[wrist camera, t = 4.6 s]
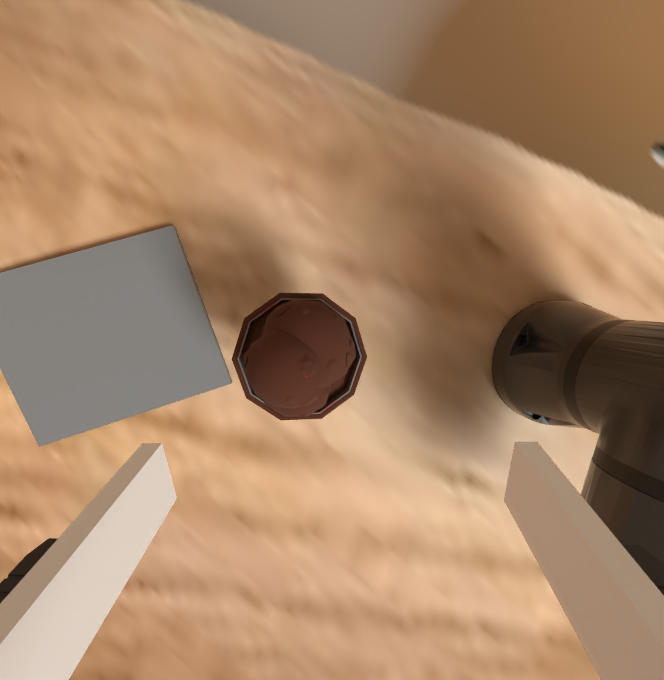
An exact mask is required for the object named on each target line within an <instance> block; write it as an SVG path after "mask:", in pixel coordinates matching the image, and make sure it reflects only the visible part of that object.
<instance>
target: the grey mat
mask: <svg viewBox="0 0 664 680" xmlns="http://www.w3.org/2000/svg"><path fill="white" fill-rule="evenodd" d="M0 369H1V371H2V373H3V375H4V377H5V379H6V381H7V383H8V385H9V387H10V389H11V391H12V393H13V395H14V397H15V399H16V401H17V403H18V405H19V407H20V409H21V411H22V413H23V415H24V417H25V419H26V421H27V423H28V425H29V427H30V429H31V431H32V433H33V435H34V437H35V439H36V441H37V443H38V445H39V447H40V446H43V445H46V444H49V443H52V442H55V441H58V440H61V439H64V438H67V437H70V436H73V435H76V434H79V433H82V432H85V431H88V430H91V429H94V428H98V427H101V426H104V425H107V424H110V423H113V422H116V421H119V420H122V419H125V418H128V417H131V416H134V415H137V414H140V413H143V412H146V411H149V410H152V409H155V408H158V407H161V406H164V405H167V404H170V403H173V402H176V401H180V400H183V399H186V398H189V397H192V396H195V395H198V394H201V393H204V392H207V391H210V390H213V389H216V388H219V387H222V386H225V385H228V384H231V383H232V380H231V377H230V374H229V372H228V369H227V366H226V364H225V361H224V358H223V355H222V353H221V350H220V347H219V345H218V342H217V339H216V337H215V334H214V331H213V328H212V326H211V323H210V320H209V318H208V315H207V312H206V310H205V307H204V304H203V301H202V299H201V296H200V293H199V291H198V288H197V285H196V282H195V280H194V277H193V274H192V272H191V269H190V266H189V264H188V261H187V258H186V255H185V253H184V250H183V247H182V245H181V242H180V239H179V237H178V234H177V231H176V228H175V226H173V225H172V226H168V227H164V228H161V229H157V230H153V231H150V232H146V233H143V234H139V235H135V236H132V237H128V238H124V239H121V240H117V241H113V242H110V243H106V244H103V245H99V246H95V247H92V248H88V249H84V250H81V251H77V252H74V253H70V254H66V255H63V256H59V257H55V258H52V259H48V260H44V261H41V262H37V263H34V264H30V265H26V266H23V267H19V268H15V269H12V270H8V271H5V272H1V273H0Z"/></svg>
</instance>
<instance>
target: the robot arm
mask: <svg viewBox="0 0 664 680" xmlns="http://www.w3.org/2000/svg"><path fill="white" fill-rule="evenodd" d="M492 369H493V378H494V383H495V386H496V389H497V391H498V393H499V395H500V397H501V398H502V400H503V401H504V402H505V404H506V405H507V406H508V407H509V408H511V409H512V410H513V411H515V412H516V413H518V414H520V415H522V416H524V417H526V418H528V419H530V420H532V421H535V422H538V423H542V424H547V425H556V426H567V427H577V428H586V429H589V430H591V431H593V432H596V433H598V434H599V438H598V441H597V445H596V448H595V451H594V454H593V457H592V460H591V463H590V466H589V469H588V473H587V476H586V479H585V482H584V486H583V489H582V492H581V495H580V493H579V492H578V491H577V490H576V489H575V487H574V486H573V485H572V484H571V482H570V481H569V480H568V479H567V478H566V476H565V475H564V474H563V473H562V472H561V470H560V469H559V468H558V467H557V465H556V464H555V463H554V462H553V461H552V459H551V458H550V457H549V456H548V455H547V453H546V452H545V451H544V450H543V448H542V447H541V446H540V445H539V444H538V442H515V445H514V451H513V456H512V461H511V466H510V471H509V477H508V482H507V487H506V492H505V497H504V501H505V503H506V505H507V507H508V509H509V510H510V512H511V514H512V516H513V518H514V520H515V521H516V523H517V525H518V527H519V529H520V531H521V532H522V534H523V536H524V538H525V540H526V542H527V544H528V545H529V547H530V549H531V551H532V553H533V555H534V556H535V558H536V560H537V562H538V564H539V566H540V568H541V569H542V571H543V573H544V575H545V577H546V579H547V580H548V582H549V584H550V586H551V588H552V590H553V592H554V593H555V595H556V597H557V599H558V601H559V603H560V604H561V606H562V608H563V610H564V612H565V614H566V616H567V617H568V619H569V621H570V623H571V625H572V627H573V628H574V630H575V632H576V634H577V636H578V638H579V640H580V641H581V643H582V645H583V647H584V649H585V651H586V652H587V654H588V656H589V658H590V660H591V662H592V663H593V665H594V667H595V669H596V671H597V673H598V675H599V676H600V678H601V680H664V323H661V322H649V321H634V320H622V319H620V318H617V317H615V316H613V315H610V314H608V313H606V312H603V311H601V310H598V309H596V308H593V307H591V306H589V305H587V304H584V303H580V302H576V301H567V300H548V301H542V302H539V303H536V304H533V305H531V306H529V307H527V308H525V309H524V310H522V311H521V312H519V313H518V314H517V315H516V316H515V317H514V318H513V319H512V320H511V321H510V322H509V323H508V324H507V326H506V327H505V328H504V330H503V332H502V333H501V335H500V337H499V339H498V342H497V344H496V347H495V351H494V355H493V365H492ZM176 499H177V497H176V493H175V490H174V486H173V482H172V479H171V475H170V471H169V468H168V464H167V460H166V457H165V453H164V449H163V446H162V443H142V445H141V446H140V447H139V448H138V449H137V450H136V451H135V452H134V454H133V455H132V456H131V457H130V458H129V459H128V460H127V462H126V463H125V464H124V465H123V466H122V467H121V468H120V469H119V471H118V472H117V473H116V474H115V475H114V476H113V477H112V478H111V480H110V481H109V482H108V483H107V484H106V485H105V486H104V487H103V489H102V490H101V491H100V492H99V493H98V494H97V495H96V496H95V498H94V499H93V500H92V501H91V502H90V503H89V504H88V505H87V507H86V508H85V509H84V510H83V511H82V512H81V513H80V514H79V516H78V517H77V518H76V519H75V520H74V521H73V522H72V523H71V525H70V526H69V527H68V528H67V529H66V530H65V531H64V533H63V534H62V535H61V536H60V537H59V538H58V539H52V538H49V539H48V540H46V541H45V542H44V543H42V544H41V545H40V546H38V547H37V548H36V549H34V550H33V551H32V552H30V553H29V554H27V555H26V556H25V557H24V559H23V560H22V561H21V562H20V563H19V564H18V565H17V566H16V567H15V568H14V569H13V570H12V571H11V572H10V573H9V575H8V578H7V579H4V580H3V581H2V582H1V583H0V680H69V678H70V676H71V675H72V673H73V671H74V670H75V668H76V666H77V665H78V663H79V661H80V660H81V658H82V656H83V655H84V653H85V651H86V650H87V648H88V646H89V645H90V643H91V641H92V640H93V638H94V636H95V634H96V633H97V631H98V629H99V628H100V626H101V624H102V623H103V621H104V619H105V618H106V616H107V614H108V613H109V611H110V609H111V608H112V606H113V604H114V603H115V601H116V599H117V598H118V596H119V594H120V593H121V591H122V589H123V588H124V586H125V584H126V583H127V581H128V579H129V578H130V576H131V574H132V573H133V571H134V569H135V568H136V566H137V564H138V563H139V561H140V559H141V557H142V556H143V554H144V552H145V551H146V549H147V547H148V546H149V544H150V542H151V541H152V539H153V537H154V536H155V534H156V532H157V531H158V529H159V527H160V526H161V524H162V522H163V521H164V519H165V517H166V516H167V514H168V512H169V511H170V509H171V507H172V506H173V504H174V502H175V501H176Z"/></svg>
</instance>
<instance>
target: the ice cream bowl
mask: <svg viewBox="0 0 664 680" xmlns="http://www.w3.org/2000/svg"><path fill="white" fill-rule="evenodd" d="M366 358H367V355H366V352H365V349H364V345H363V342H362V339H361V335H360V332H359V328H358V325H357V322H356V318H354V317H353V316H352V315H350V314H349V313H348V312H346V311H345V310H344V309H342V308H341V307H340V306H338V305H337V304H336V303H334V302H333V301H332V300H330V299H329V298H328V297H326V296H325V295H324V294H315V293H279V294H278V295H276V296H275V297H274V298H272V299H271V300H269V301H268V302H267V303H265V304H264V305H262V306H261V307H260V308H258V309H257V310H255V311H254V312H253V313H251V314H250V315H248V316H247V317H246V318H244V322H243V325H242V328H241V331H240V334H239V338H238V341H237V344H236V347H235V350H234V354H233V357H232V361H233V364H234V366H235V369H236V372H237V374H238V377H239V380H240V382H241V385H242V388H243V390H244V393H245V396H246V398H247V399H249V400H250V401H252V402H253V403H255V404H256V405H258V406H259V407H261V408H263V409H264V410H266V411H267V412H269V413H270V414H272V415H273V416H275V417H277V418H278V419H280V420H298V419H322V418H323V417H324V416H326V415H327V414H328V413H330V412H331V411H332V410H334V409H335V408H336V407H338V406H339V405H341V404H342V403H343V402H345V401H346V400H347V399H349V398H350V397H351V396H353V395H354V393H355V390H356V387H357V384H358V381H359V378H360V376H361V373H362V370H363V367H364V364H365V361H366Z"/></svg>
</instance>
